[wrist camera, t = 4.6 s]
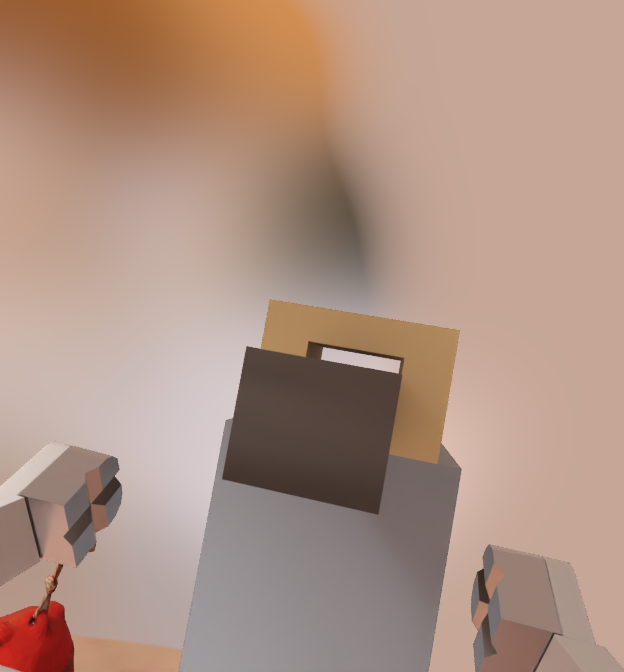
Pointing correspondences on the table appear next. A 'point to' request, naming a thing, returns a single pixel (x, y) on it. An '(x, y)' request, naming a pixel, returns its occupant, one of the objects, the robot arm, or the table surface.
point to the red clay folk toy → (38, 635)
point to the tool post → (334, 530)
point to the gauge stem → (313, 429)
